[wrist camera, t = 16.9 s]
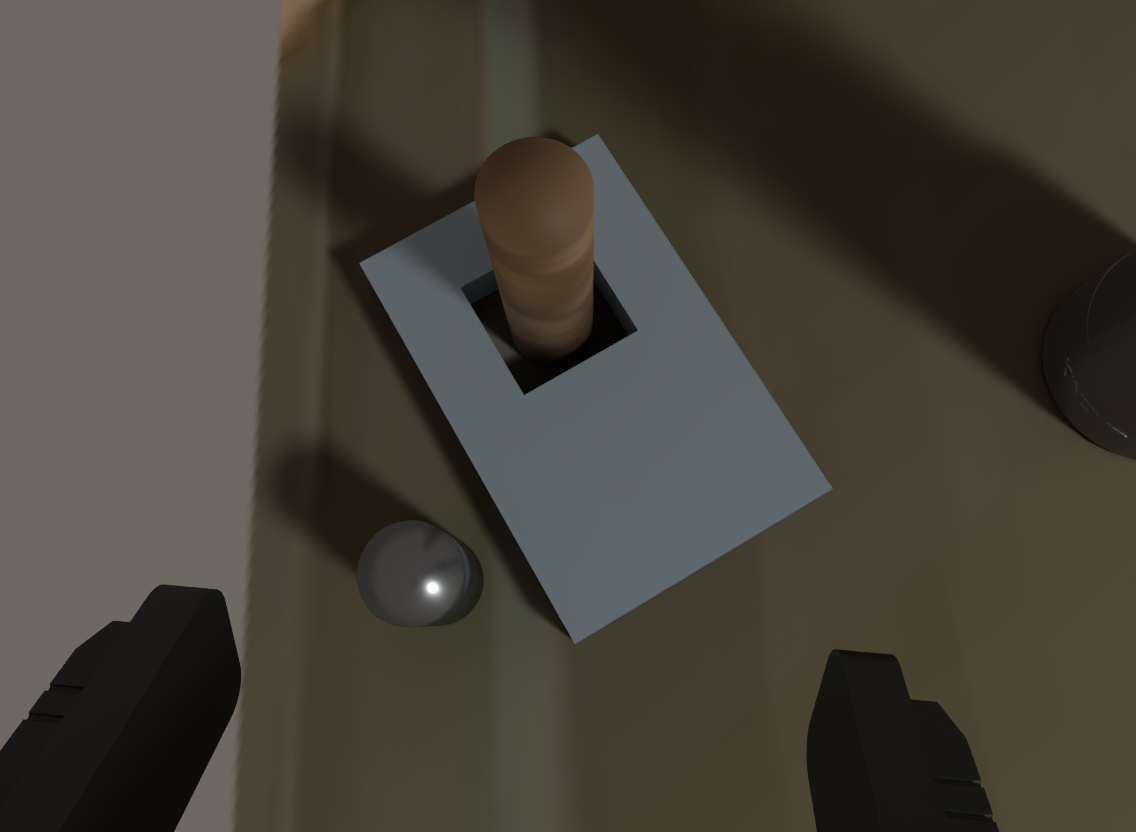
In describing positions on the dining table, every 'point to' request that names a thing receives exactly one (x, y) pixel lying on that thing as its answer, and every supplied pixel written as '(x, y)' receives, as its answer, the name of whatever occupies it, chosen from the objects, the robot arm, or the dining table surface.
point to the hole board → (603, 412)
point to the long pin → (541, 245)
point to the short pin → (418, 576)
